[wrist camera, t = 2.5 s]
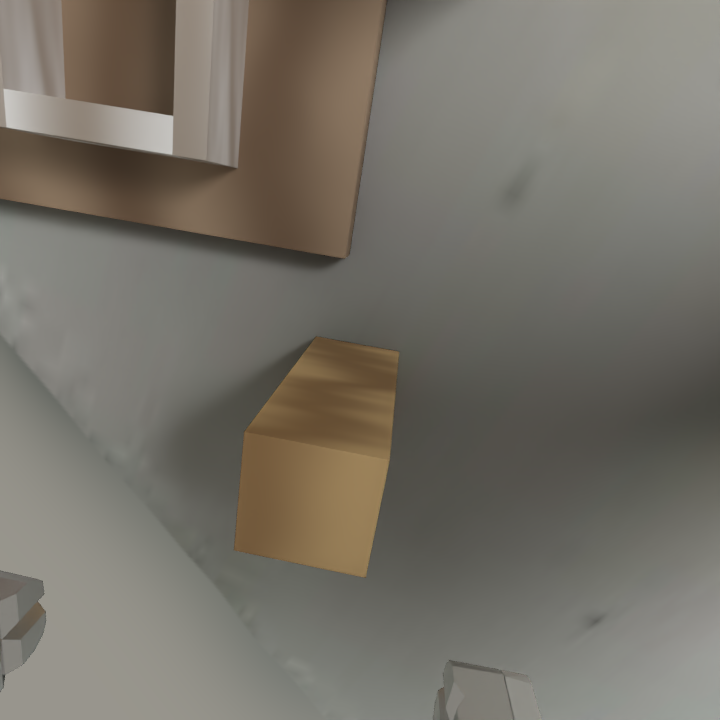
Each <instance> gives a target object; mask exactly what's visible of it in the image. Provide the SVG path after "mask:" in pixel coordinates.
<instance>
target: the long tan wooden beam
mask: <svg viewBox="0 0 720 720" xmlns="http://www.w3.org/2000/svg"><path fill="white" fill-rule="evenodd" d="M398 360H399V352H398V351H393V350H387V349H382V348H377V347H371V346H366V345H360V344H355V343H349V342H344V341H338V340H333V339H328V338H322V337H317V336H316V337H315V339H314V340H313V341H312V343H311V344H310V345H309V347H308V348H307V349H306V351H305V352H304V353H303V355H302V356H301V357H300V359H299V360H298V361H297V363H296V364H295V365H294V366H293V368H292V369H291V370H290V372H289V373H288V374H287V376H286V377H285V378H284V380H283V381H282V382H281V384H280V385H279V386H278V388H277V389H276V390H275V392H274V393H273V394H272V396H271V397H270V398H269V400H268V401H267V402H266V404H265V405H264V406H263V407H262V409H261V410H260V411H259V413H258V414H257V415H256V417H255V418H254V419H253V421H252V422H251V423H250V425H249V426H248V427H247V429H246V430H245V431H244V440H243V451H242V463H241V474H240V486H239V497H238V509H237V521H236V532H235V544H234V550H235V551H240V552H245V553H249V554H254V555H259V556H264V557H269V558H273V559H278V560H283V561H288V562H292V563H297V564H302V565H307V566H312V567H316V568H321V569H326V570H331V571H335V572H340V573H345V574H350V575H355V576H359V577H364V578H366V574H367V569H368V564H369V559H370V554H371V549H372V544H373V539H374V534H375V530H376V525H377V520H378V515H379V510H380V505H381V500H382V495H383V490H384V486H385V481H386V476H387V471H388V466H389V461H390V451H391V440H392V428H393V417H394V405H395V394H396V383H397V371H398Z"/></svg>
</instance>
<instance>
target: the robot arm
mask: <svg viewBox="0 0 720 720" xmlns="http://www.w3.org/2000/svg"><path fill="white" fill-rule="evenodd" d="M43 595H44V587H43V581H41V580H38V579H34V578H30V577H26V576H22V575H17V574H13V573H9V572H4V571H0V691H1V690H2V689H3V687H4V680H5V675H6V674H7V673H9V672H11V671H13V670H14V669H16V668H18V667H20V666H22V665H23V664H24V663H25V662H26V660H27V659H28V658H29V657H30V655H31V654H32V653H33V652H34V650H35V649H36V646H37V645H38V643H39V641H40V639H41V637H42V635H43V632H44V628H45V623H46V612H45V610H44V609H43V608H42V606H41V605H40V604H39V603H38V600H39V599H40V598H41V597H42V596H43ZM443 680H444V687H443V688H441V689H440V690H438V693H437V697H436V700H435V705H434V714H433V720H542V719H541V715H540V712H539V708H538V705H537V701H536V698H535V694H534V691H533V687H532V684H531V681H530V679H529V678H528V676H527V675H523V674H518V673H513V672H508V671H503V670H498V669H495V668H489V667H484V666H479V665H473V664H468V663H462V662H457V661H451V660H449V661H448V662H447V663H446V666H445V669H444V672H443Z"/></svg>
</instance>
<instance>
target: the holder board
mask: <svg viewBox="0 0 720 720" xmlns="http://www.w3.org/2000/svg"><path fill="white" fill-rule="evenodd" d="M386 5H387V0H0V199H5V200H11V201H16V202H22V203H28V204H34V205H39V206H45V207H51V208H57V209H62V210H68V211H74V212H80V213H85V214H91V215H97V216H103V217H108V218H114V219H120V220H126V221H131V222H137V223H143V224H148V225H154V226H160V227H166V228H171V229H177V230H183V231H189V232H194V233H200V234H206V235H212V236H217V237H223V238H229V239H235V240H240V241H246V242H252V243H258V244H263V245H269V246H275V247H281V248H286V249H292V250H298V251H303V252H309V253H315V254H321V255H326V256H332V257H338V258H344V259H345V258H346V257H348V256H349V254H350V248H351V241H352V234H353V227H354V221H355V214H356V207H357V200H358V194H359V187H360V180H361V173H362V167H363V160H364V153H365V146H366V140H367V133H368V126H369V119H370V113H371V106H372V99H373V92H374V86H375V79H376V72H377V65H378V59H379V52H380V45H381V38H382V32H383V25H384V18H385V12H386Z"/></svg>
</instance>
